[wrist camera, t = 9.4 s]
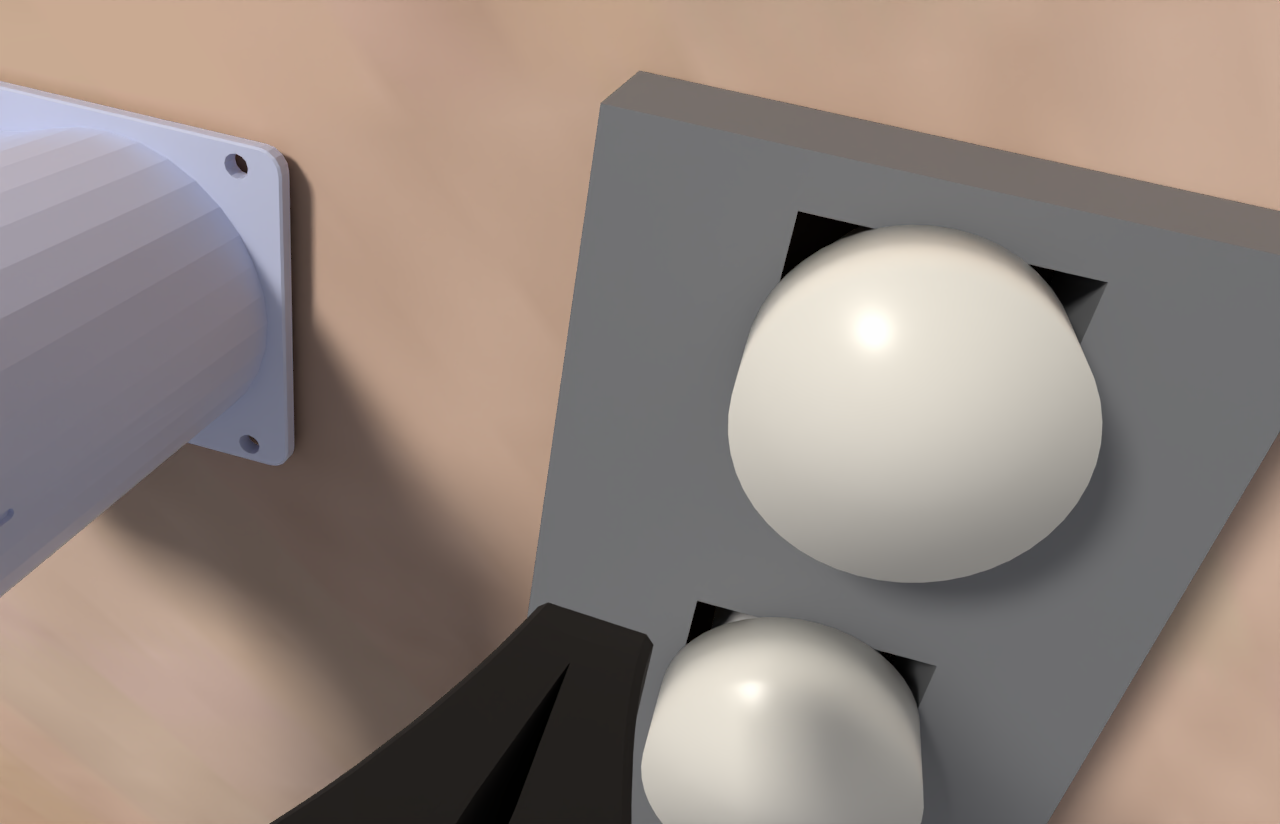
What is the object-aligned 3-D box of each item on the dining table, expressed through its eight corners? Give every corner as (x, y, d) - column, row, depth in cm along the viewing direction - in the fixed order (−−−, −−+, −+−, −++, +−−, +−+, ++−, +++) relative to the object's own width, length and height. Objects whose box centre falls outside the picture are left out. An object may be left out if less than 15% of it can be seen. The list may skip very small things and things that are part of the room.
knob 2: (664, 676, 26) (621, 839, 21) (706, 506, 23) (667, 653, 18) (876, 736, 25) (876, 915, 21) (947, 569, 22) (964, 736, 18)
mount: (513, 856, 31) (480, 947, 28) (638, 71, 18) (600, 103, 16) (894, 972, 29) (895, 1078, 27) (1298, 215, 17) (1372, 276, 15)
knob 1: (733, 399, 21) (697, 532, 17) (797, 145, 18) (772, 228, 14) (991, 464, 21) (1021, 619, 16) (1098, 212, 18) (1168, 320, 14)
